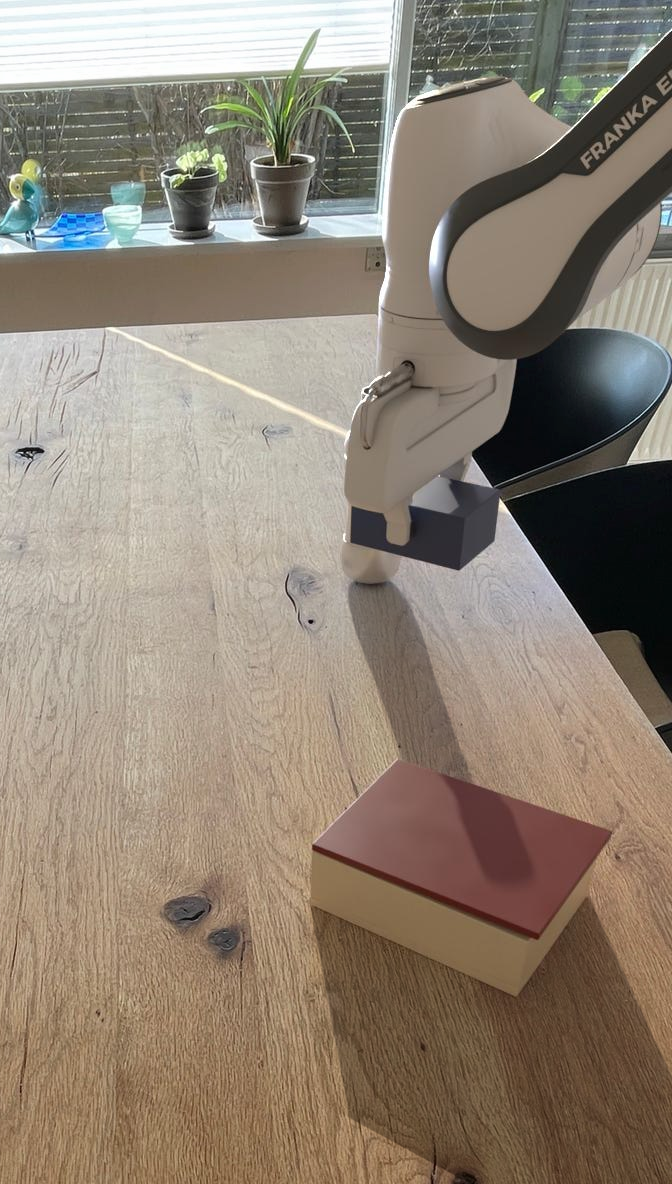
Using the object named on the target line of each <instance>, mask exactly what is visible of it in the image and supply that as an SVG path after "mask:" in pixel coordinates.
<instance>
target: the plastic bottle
mask: <svg viewBox="0 0 672 1184" xmlns="http://www.w3.org/2000/svg"><path fill="white" fill-rule="evenodd" d="M369 391H370V385H369V386H366V387H363V388H362V390H361V393H360V402H361V401H362V400H364V399H365V398H366V397H367V395H368V393H369ZM349 433H350V429H349V430H348V432H347V434H346V437H345V440H344V443H343V450H344V451H343V453H344V460H345V463H346V457H347V448H348V440H349ZM345 516H346V517H345V525H344V533H343V536H342V539H341V543H340V544H341V545H340V549H339V560H340V566H341V570H342V572H343V573H344V574H345V576H346V577H347V578H348V579H350V580H352V581H354V582H356V583H357V582H358V583H361V584H369V585H370V584H382V583H385V582H388V581H390V580H392V579H393V578H394V576H395V575H396V574H397V573H398V572H399V569H400V566H401V561H402V557H403V556H400V555H396V554H392V553H388V552H384V551H380V550H376V549H372V548H369V547H365V546H361V545H357V544H353V543H350V531H351V505H350V504H349V502H348V501H347V507H346V515H345Z"/></svg>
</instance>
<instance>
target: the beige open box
mask: <svg viewBox="0 0 672 1184" xmlns="http://www.w3.org/2000/svg"><path fill="white" fill-rule="evenodd" d="M597 860H598V857H597V858H596V859H595V861H594V862H593V864H592V865H591V866H590V868H589V869H588V871H587V872H586V873H585V875H584V876H583V878H582V879H581V881H580V882H579V883H578V885H577V886H576V888H575V889H574V890H573V892H572V893H571V895H570V896H569V897H568V899H567V900H566V902H565V903H564V904H563V906H562V907H561V909H560V910H559V912H558V913H557V914H556V916H555V917H554V919H553V920H552V921H551V923H550V924H549V926H548V927H547V928H546V930H545V931H544V933H543V934H542V935H541V937H540V938H539V940H536V939H533V938H531V937H528V936H526V935H523V934H521V933H518V932H516V931H513V930H511V929H508V928H506V927H503V926H501V925H498V924H496V923H493V922H491V921H488V920H486V919H483V918H481V917H478V916H476V915H473V914H471V913H468V912H466V911H463V910H461V909H458V908H456V907H453V906H451V905H448V904H446V903H443V902H441V901H438V900H436V899H433V898H431V897H428V896H426V895H423V894H421V893H418V892H416V891H413V890H411V889H408V888H405V887H403V886H400V885H398V884H395V883H393V882H390V881H388V880H385V879H383V878H380V877H378V876H375V875H373V874H370V873H368V872H365V871H363V870H360V869H358V868H355V867H353V866H350V865H348V864H345V863H343V862H340V861H338V860H335V859H333V858H330V857H328V856H325V855H323V854H320V853H318V852H315V851H313V850H311V869H310V870H311V871H310V872H311V874H310V876H311V877H310V897H309V901H310V902H309V905H310V906H312V907H315V908H317V909H320V910H322V911H323V912H326V913H328V914H330V915H332V916H335V917H337V918H340V919H342V920H344V921H346V922H349V923H351V924H353V925H355V926H357V927H360V928H362V929H364V930H366V931H368V932H371V933H373V934H375V935H377V936H380V937H382V938H384V939H386V940H388V941H390V942H393V943H395V944H397V945H399V946H402V947H404V948H406V949H408V950H410V951H413V952H415V953H417V954H419V955H422V956H424V957H426V958H429V959H431V960H433V961H435V962H436V963H439V964H442V965H444V966H446V967H448V968H451V969H452V970H455V971H457V972H460V973H462V974H464V975H466V976H468V977H471V978H473V979H475V980H477V981H480V982H481V983H484V984H487V985H488V986H490V987H493V988H495V989H498V990H500V991H502V992H504V993H506V994H508V995H511V996H513V997H515V998H517V997H518V996H519V994H520V993H521V991H522V990H523V988H524V987H525V986H526V985H527V983H528V982H529V980H530V979H531V977H532V976H533V974H534V973H535V971H536V970H537V969H538V967H539V965H540V964H541V963H542V961H543V960H544V958H545V957H546V956H547V954H548V953H549V951H550V950H551V949H552V947H553V945H555V942H556V941H557V940H558V938H559V937H560V936H561V934H562V933H563V931H564V929H566V927H567V925H568V924H569V922H570V921H571V920H572V918H573V916H574V915H575V914H576V912H577V911H578V909H579V908H580V907H581V905H582V904H583V902H584V901H585V899H586V898H587V896H588V895H589V892H590V888H591V884H592V880H593V876H594V872H595V868H596V865H597V864H596V863H597Z"/></svg>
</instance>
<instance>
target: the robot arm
mask: <svg viewBox="0 0 672 1184" xmlns="http://www.w3.org/2000/svg"><path fill="white" fill-rule="evenodd" d="M671 195H672V28H671V29H670V30H669V31H668V32H667V33H665V35H664V36H663V37H662V38H661V39H660V40H659V41H658V42H657V43H656V44H655V45H654V46H653V47H652V48H651V49H650V50H649V51H647V52H646V54H645V55H644V56H643V57H642V58H640V60H638V62H636V64H634V66H632V68H630V70H629V71H627V72H626V73H625V74H624V75H623V77H622V78H621V79H620V80H619V81H618V82H616V83H615V84H614V85H613V87H612V88H611V89H609V90H608V92H607V93H605V95H603V97H601V98H600V100H598V102H596V104H594V106H593V107H592V108H590V109H589V111H588V112H586V113H585V114H584V116H582V118H581V119H579V121H578V122H576V123H575V124H574V125H573V126H571V125H569V124H567V123H564V122H563V121H561V120H559V119H558V118H556V117H554V116H552V115H551V114H549V112H547V111H546V110H544V109H543V108H541V107H540V106H538V105H537V104H536V103H535V102H534V101H533V100H531V98H529V96H528V95H527V94H526V93H525V91H524V90H523V88H522V87H521V86H520V85H519V83H518V82H517V81H515V80H514V79H513V78H509V77H506V76H501V75H492V76H482V77H478V78H472V79H469V80H464V81H459V82H456V83H452V84H449V85H446V86H443V87H438V88H434V89H432V90H428V91H425V92H423V93H420V94H419V95H417V96H415V97H414V98H412V99H411V100H410V101H409V102H408V103H407V104H406V105H405V107H404V108H403V109H401V111H400V113H399V115H398V116H397V120H396V122H395V126H394V128H393V133H392V136H391V142H390V147H389V153H388V161H387V166H386V175H385V186H384V195H383V208H382V209H383V211H382V225H381V226H382V229H381V239H382V245H383V249H384V253H385V275H384V279H383V283H382V286H381V288H380V292H379V299H378V317H377V338H376V359H375V360H376V361H375V368H376V371H377V373H378V374H379V375H380V376H378V377H377V378H375V379H374V380H373V381H372V382H371V383H370V385H369V386H370V391H369V393H368V395H367V397H366V398H365V399H364V400H362V401H361V400H360V402H359V403H358V404H357V406H356V409H355V410H354V413H353V414H352V419H351V423H350V428H349V430H350V433H349V440H348V448H347V457H346V462H345V468H344V480H343V483H344V484H343V494H344V496H345V499H346V501H347V503H348V502H349V504H350V505H351V506H354V507H357V508H361V509H364V510H368V511H373V512H378V513H383V514H384V516H385V519H386V521H387V533H386V538H387V540H388V541H389V542H390V543H393V544H397V545H401V546H403V545H405V544H406V543H407V542H409V541H410V540H411V539H412V538H413V537H414V536H415V526H416V519H414V518H411V517H410V512H409V508H408V505H410V504H412V499H413V494H414V493H415V492H417V491H418V490H419V489H421V488H422V487H423V486H425V485H426V484H428V483H429V482H430V481H432V480H433V479H435V478H436V477H437V476H440V477H444V478H449V479H453V480H458V481H463V482H465V478H466V476H467V473H468V470H469V468H470V465H471V462H472V458H473V451H475V450H477V448H479V447H480V446H482V445H483V444H485V443H486V442H487V441H489V440H490V439H491V438H493V437H494V436H495V435H497V434H498V433H500V431H501V430H502V429H503V426H504V424H505V422H506V420H507V416H508V414H509V410H510V406H511V401H512V396H513V395H512V394H513V389H514V382H515V377H516V370H517V361H518V360H519V359H520V360H521V359H524V358H527V357H530V356H533V355H535V354H538V353H539V352H541V351H543V350H545V349H546V348H548V347H549V346H550V345H551V344H553V343H554V342H555V341H556V340H557V339H558V338H559V337H560V336H561V335H562V334H564V333H565V331H567V329H569V328H570V327H571V326H572V325H573V323H574V322H575V321H577V320H578V319H580V318H581V317H583V316H584V315H586V314H587V313H588V312H589V311H591V310H592V309H593V308H595V307H596V306H598V305H599V304H600V303H601V302H603V301H604V300H605V299H607V298H608V297H610V296H611V295H612V294H613V293H615V292H616V291H617V290H618V289H620V288H622V286H624V285H625V284H626V283H627V282H628V281H629V280H630V279H631V278H632V277H634V276H635V275H636V274H637V273H638V272H639V271H640V270H641V269H642V267H643V266H644V265H645V263H646V262H647V260H648V259H649V257H650V255H651V254H652V252H653V250H654V248H655V245H656V243H657V240H658V237H659V235H660V231H661V224H662V216H663V205H662V203H663V202H664V201H665V200H666V199H667V198H669V196H671Z"/></svg>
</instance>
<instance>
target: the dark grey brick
mask: <svg viewBox="0 0 672 1184" xmlns="http://www.w3.org/2000/svg"><path fill="white" fill-rule="evenodd" d="M501 492H502V491H501V489H498V488H494V487H491V486H486V485H482V484H478V483H477V484H476V483H472V482H467V481H458V480H453V479H449V478H444V477H440V475H439V476H437V477H436V478H435V479H433V480H432V481H430V482H429V483H428V484H426V485H425V486H423V487H422V488H421V489H419V490H418V491H417V492H415V493H414V494H413V499H412V504H410V505H408V508H409V512H410V517H411V518H414V519H416V526H415V536H414V537H413V538H412V539H411V540H410V541H409V542H407V543H406V544H405V545H403V546H401V545H397V544H393V543H390V542H389V541H388V540H387V538H386V533H387V521H386V519H385V516H384V514H383V513H378V512H373V511H368V510H364V509H361V508H357V507H354V506H351V531H350V543H353V544H357V545H361V546H365V547H369V548H372V549H376V550H380V551H384V552H388V553H392V554H396V555H400V556H402V557H403V558H407V559H412V560H415V561H420V562H423V563H427V564H431V565H435V566H439V567H443V568H447V569H450V570H454V571H458V572H459V571H461V570H462V569H463V568H465V567H466V566H467V565H468V564H469V563H470V562H472V561H473V560H474V559H475V558H476V557H477V556H479V555H480V554H481V553H482V552H483V551H485V550H486V549H487V548H489V547H490V546H491V545H492V544H493V543H494V542H495V541H496V540H495V539H496V532H497V525H498V515H499V506H500V500H501Z"/></svg>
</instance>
